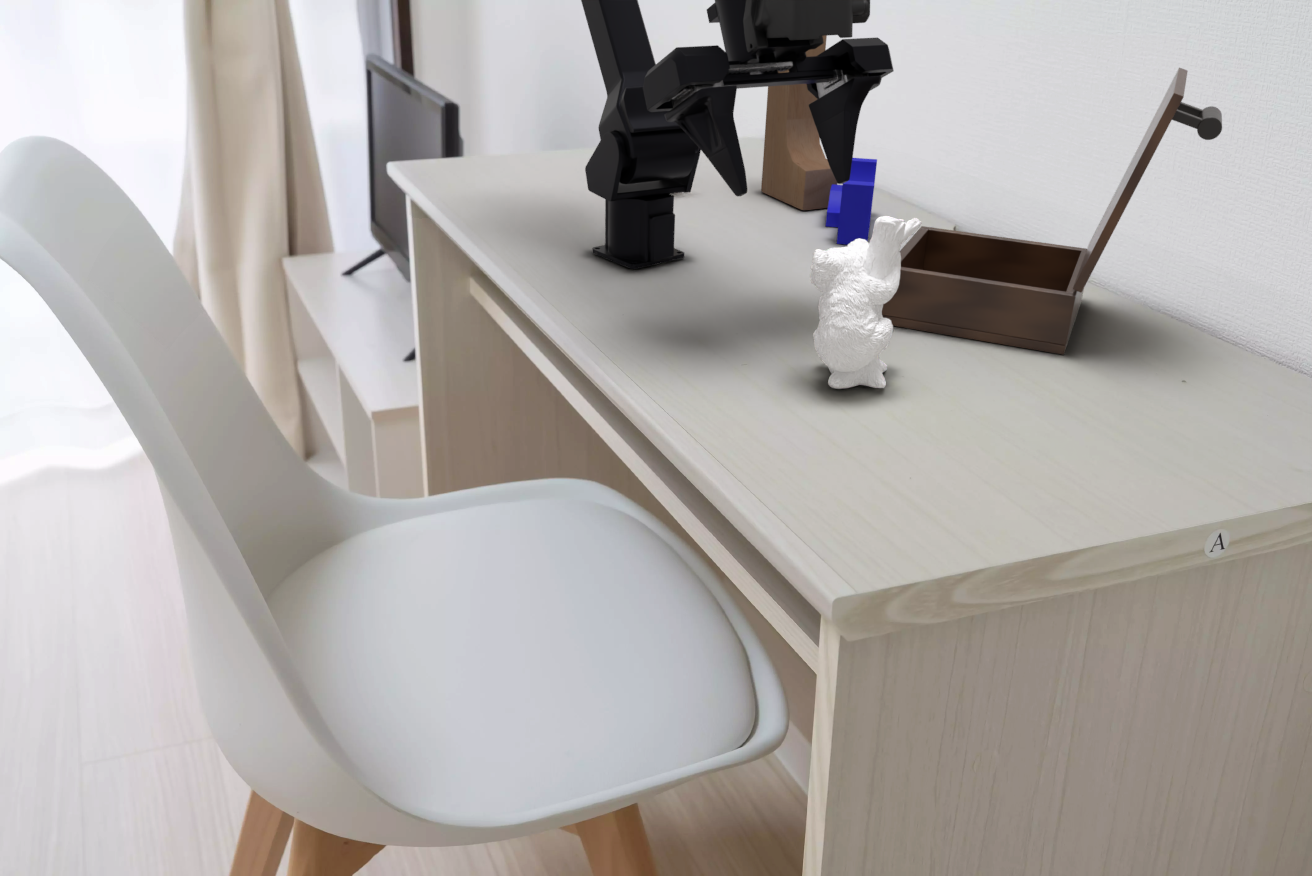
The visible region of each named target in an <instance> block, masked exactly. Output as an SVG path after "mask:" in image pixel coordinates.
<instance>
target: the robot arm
mask: <svg viewBox="0 0 1312 876" xmlns="http://www.w3.org/2000/svg"><path fill="white" fill-rule="evenodd" d="M580 2H581V5H582V8H583V12H584V16H585V19H586V23H587V26H588V30H589V33H590V37H591V42H592V44H593V49H594V51H595V52H594V53H595V56H596V59H597V62H598V66H599V70H600V74H601V77H602V81H603V84H604V88H605V92H606V101H605V104H604V107H603V110H602V114H601V115H600V120H599V123H598V127H597V128H598V134H599V139H600V141H599V142H598V144H597V146H596V147H595V149H594V151H593V153H592V154H591V157H590V158H589V160H588V162H586V165H585V167H584V168H585V169H584V171H585V179H586V185H587V190H588V191H589V192H590V193H592V194H594V195H596V196H598V197H600V198H602V199H604V200H605V201H604V202H605V203H604V204H605V205H604V206H605V210H604V211H605V212H604V213H605V214H604V215H605V217H604V244H602V245H599V246H594V247H592V248H591V253H592V254H594V255H596V256H598V257H600V258H602V259H606V260H608V261H611V262H613V263H616V264H618V265H620V266H624V268H628V269H631V270H637V269H641V268H646V267H647V268H648V267H651V266H654V265H659V264H663V263H667V262H672V261H675V260H680V259H684V258H685V254H686V253H685V251H683V250H680V249H677V248H675V232H676V230H675V229H676V214H675V213H674V211H675V210H674V209H675V207H674V206H675V195H673V194H678V193H684V194H687V193H691V192H692V188H693V183H694V180H695V177H696V172H697V168H698V164H699V160H700V156H701V152H702V153H703V155H704V156H705V157H706V158H707V159H708V161H709V162H710V163H711V165H712V166H713V168H714V169H715V170H716V172H717V173H718V174H719V175H720V177H721V178H722V179H723V181H724V182H725V184H726V185H727V186H728V188H729V189H730V190H731V192H732V194H734V195H735V197H742V196H745V195H746V194H747V193H748V183H747V174H746V168H745V163H744V158H743V154H742V150H741V145H740V141H739V136H738V131H737V126H736V123H735V118H734V112H735V105H736V96H737V91H738V89H739V90H740V89H751V88H764V87H765V88H766V87H767V88H768V86H781V85H795V84H807V89H808V91H809V92H810V93H812V94H813V95H814V96H815V97H816V98H817V100H816V101H814V102H812V103H810V104H809V108H810V111H811V114H812V117H813V120H814V123H815V126H816V128H817V131H818V134H819V137H820V144H821V145H822V146H821V147H822V150H823V153H824V155H825V158H826V159H827V160H828V163H829V166H830V168H831V171H832V173H833V175H834V177H835V179H836V181H837V185H843V183H845V182H847V181H849V179H850V173H851V166H852V158H854V149H855V143H856V134H857V129H858V128H857V127H858V122H859V118H860V114H861V109H862V107H863V104H864V102H865V100H866V98H867V97H868V95H869V93H870V91H872V90H874V89H876V88H878V87H879V86H880V85H881V83H882V79H883V78H885V77H886V76H888V75H890V74H891V73H893V72H894V65H893V61H892V57H891V51H890V47H889V44H888V43H886V42H884V41H883V40H882V39H880V38H879V37H860V38H853V24H864V23H866V22H867V21H868V20H869V18H870V16H871V0H714V3H712V5H710V6H709V7H708V8H706V14H707V20H708V24H715V23H716V24H718V23H719V27H720V32H721V37H722V41H723V47H724V49H723V48H722V47H720V45H717V44H716V45H700V46H699V45H697V46H679V47H678V46H676V47H675V48H674V49H672V51H671V52H669V53H668V54H667V55H665V56H664V57H663V58H661V60H659V61H658V62H657V63H656V60H655V57H654V54H653V50H652V46H651V42H650V39H649V35H648V32H647V29H646V25H645V22H644V18H643V14H642V11H641V8H640V4H639V1H638V0H580ZM822 36H838V38H840V40H839V41H837V42H836V43H834V44H833V45H831V46H830V47H829V48H827V49H825V51H824V52H822V53H821V54H819V55H818V56H812V57H807V56H806V52H807V51H808V50H810V49H816V48H817V47H819V46H820V45H822V44H823V43H824V41H823V37H822ZM788 69H789V72H786V73H778V71H779V72H782V71H786V70H788Z"/></svg>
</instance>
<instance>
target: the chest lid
mask: <svg viewBox="0 0 1312 876" xmlns="http://www.w3.org/2000/svg"><path fill="white" fill-rule="evenodd" d="M1188 72H1189V70H1187V69H1185V68H1182V67H1178V69H1177V71H1176V73H1175V75H1174V76H1173V78H1172V80H1171V82H1170V84H1169V86H1168V88H1167V90H1166V92H1165V94H1164V96H1163V98H1162V100H1161V102H1160V103H1159V106H1158V108H1157V109H1156V112H1155V113H1154V116H1153V117H1152V120H1151V121H1150V123H1149V126H1148V127H1147V129H1146V131H1145V133H1144V135H1143V137H1142V139H1141V141H1140V143H1139V145H1138V146H1137V148H1136V151H1135V152H1134V155H1133V157H1132V158H1131V161H1130V163H1129V164H1128V166H1127V168H1126V170H1125V172H1124V174H1123V176H1122V178H1121V180H1120V182H1119V184H1118V186H1117V188H1116V189H1115V192H1114V193H1113V196H1112V197H1111V199H1110V201H1109V203H1108V205H1107V207H1106V209H1105V211H1104V213H1103V215H1102V217H1101V219H1100V220H1099V223H1098V225H1097V226H1096V229H1095V230H1094V233H1093V235H1092V236H1091V238H1090V240H1089V242H1088V245H1087V248H1086V249H1087V250H1086V253H1085V256H1084V259H1083V262H1082V264H1081V267H1080V270H1079V273H1078V275H1077V278H1076V281H1075V284H1074V287H1073V290H1076V291H1078V292H1082V291H1083V289H1084V290H1085V287H1086V285H1087V283H1088V281H1089V279H1090V277H1091V275H1092V273H1093V272H1094V270H1095V268H1096V266H1097V265H1098V262H1099V260H1100V258H1101V256H1102V254H1103V252H1104V251H1105V249H1106V247H1107V245H1108V243H1109V241H1110V239H1111V238H1112V235H1113V233H1114V231H1115V230H1116V228H1117V226H1118V224H1119V222H1120V220H1121V219H1122V218H1121V217H1122V216H1123V214H1124V212H1125V210H1126V208H1127V206H1128V204H1129V202H1130V201H1131V199H1132V197H1133V195H1134V193H1135V191H1136V189H1137V187H1138V185H1139V184H1140V181H1141V180H1142V177H1143V176H1144V174H1145V172H1146V170H1147V168H1148V166H1149V164H1150V162H1151V160H1152V158H1153V156H1154V155H1155V153H1156V151H1157V149H1158V147H1159V145H1160V143H1161V141H1162V139H1163V138H1164V136H1165V133H1166V132H1167V130H1168V128H1169V127H1170V125H1171V123H1172V121H1174V122H1177V123H1179V124H1182V125H1185V126H1188V127H1190V128H1193V129H1196V131H1197V135H1198V136H1199V138H1201V139H1202V140H1205V141H1211V140H1214V139H1216V138H1218V137H1219V136H1220V135H1221V133H1222V131H1223V114H1222V111H1221V110H1220V109H1219V108H1218V107H1216V106H1207V107H1204V108H1199V107H1197V106H1194V105H1191V104H1188V103H1186V102H1183V99H1184V97H1185V89H1186V84H1187V77H1188ZM1083 292H1084V291H1083Z"/></svg>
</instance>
